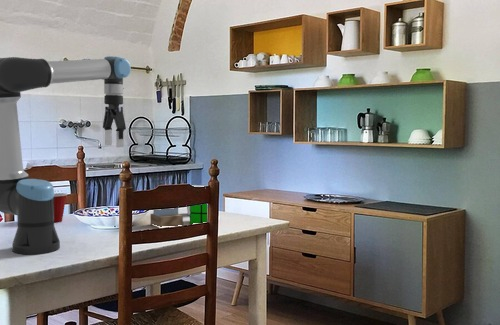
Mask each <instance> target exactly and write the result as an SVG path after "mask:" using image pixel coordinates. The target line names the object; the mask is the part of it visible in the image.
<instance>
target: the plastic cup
mask: <svg viewBox="0 0 500 325" xmlns="http://www.w3.org/2000/svg"><path fill="white" fill-rule="evenodd" d="M67 196H68V193H66V192H65V193H64V192H63V193H62V192H61V193H54V224H57V223H61V222H62V221H63V219H64V218H63V217H64V214H65V213H64V210H65V206H66V205H65V204H66V199H67Z"/></svg>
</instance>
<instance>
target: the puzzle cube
mask: <svg viewBox="0 0 500 325" xmlns="http://www.w3.org/2000/svg"><path fill="white" fill-rule="evenodd" d="M203 222H207V204H202V205H195V206H190V215H189V225H192V224H193V223H203Z"/></svg>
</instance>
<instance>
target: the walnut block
mask: <svg viewBox="0 0 500 325" xmlns="http://www.w3.org/2000/svg"><path fill="white" fill-rule="evenodd" d="M151 224H154V225H157V226H160V227H162V226H178V225H183V226H184V215H183V214H180V213H178V215H169V216H156V215H153V213H150V225H151Z"/></svg>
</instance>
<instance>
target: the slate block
mask: <svg viewBox="0 0 500 325" xmlns="http://www.w3.org/2000/svg"><path fill="white" fill-rule="evenodd" d="M152 214H153V215H156V216H169V215H178V214H179V207H178V208H174V209H161V210H153V212H152Z"/></svg>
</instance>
